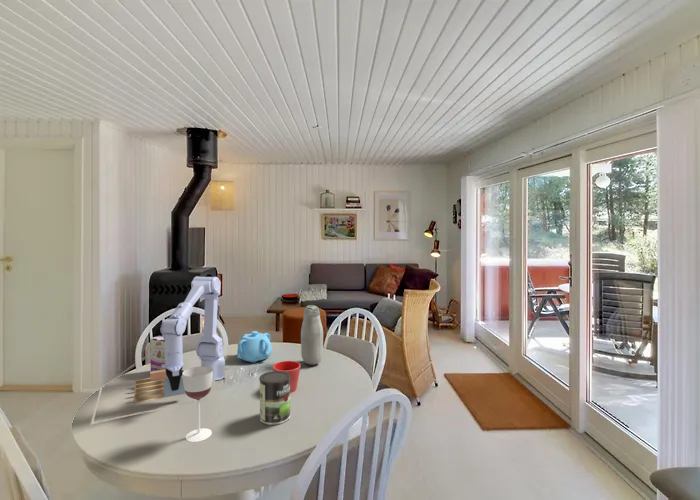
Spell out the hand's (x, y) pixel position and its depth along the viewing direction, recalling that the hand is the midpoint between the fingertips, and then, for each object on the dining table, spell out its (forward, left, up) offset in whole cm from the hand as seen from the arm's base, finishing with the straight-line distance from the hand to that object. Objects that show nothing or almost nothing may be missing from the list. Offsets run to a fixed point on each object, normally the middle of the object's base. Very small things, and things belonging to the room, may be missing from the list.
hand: (174, 388), depth 132 cm
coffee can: (-29, +26, -6) cm, 39 cm away
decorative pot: (-38, -34, -6) cm, 51 cm away
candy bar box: (+2, -33, -6) cm, 34 cm away
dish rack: (+4, -14, -6) cm, 16 cm away
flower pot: (-40, +7, -6) cm, 41 cm away
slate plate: (0, 0, -2) cm, 2 cm away
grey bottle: (-60, -14, -6) cm, 62 cm away
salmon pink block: (+4, -18, -5) cm, 19 cm away
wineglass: (-5, +25, -6) cm, 26 cm away
